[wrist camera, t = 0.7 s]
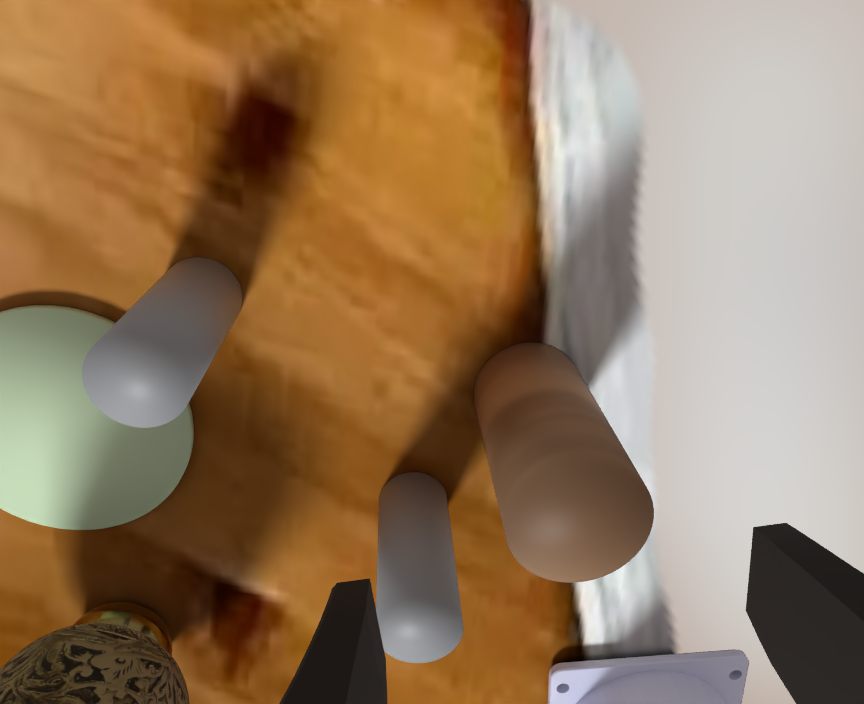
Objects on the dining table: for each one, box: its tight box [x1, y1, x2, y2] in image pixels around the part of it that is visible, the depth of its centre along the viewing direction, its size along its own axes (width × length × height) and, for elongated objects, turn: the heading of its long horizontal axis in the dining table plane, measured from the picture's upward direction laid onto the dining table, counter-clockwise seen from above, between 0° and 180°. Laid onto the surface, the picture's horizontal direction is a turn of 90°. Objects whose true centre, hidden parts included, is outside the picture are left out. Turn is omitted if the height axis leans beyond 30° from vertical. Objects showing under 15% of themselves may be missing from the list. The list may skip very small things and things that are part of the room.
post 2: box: [376, 472, 463, 663], centre depth 22 cm, size 2×2×6 cm
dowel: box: [473, 342, 654, 582], centre depth 20 cm, size 4×4×7 cm
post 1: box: [82, 257, 243, 428], centre depth 19 cm, size 2×2×6 cm
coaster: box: [0, 305, 194, 530], centre depth 22 cm, size 8×8×1 cm
